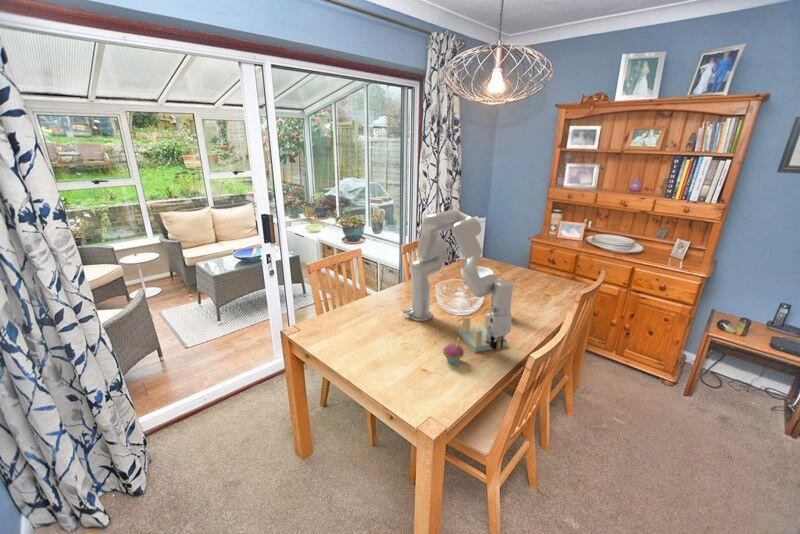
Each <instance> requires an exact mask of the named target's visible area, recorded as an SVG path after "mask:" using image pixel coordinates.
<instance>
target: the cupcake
mask: <svg viewBox="0 0 800 534" xmlns="http://www.w3.org/2000/svg"><path fill="white" fill-rule="evenodd" d="M460 337H461V336H460V335H459V336H458V338H457V340H456V344H448V345H446V346H444V348H443V350H442V354H443V355H444V357H445V358H446V361H447V362H448V364H451V365H457V364H459V362H460V359H462V358H463V356H464V355H465V354H464V353H465V352H464V349H463V347H462V346H460V345H459V341H460Z"/></svg>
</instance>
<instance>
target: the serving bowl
mask: <svg viewBox="0 0 800 534" xmlns="http://www.w3.org/2000/svg"><path fill="white" fill-rule="evenodd" d="M477 272H478V275H479V277H480V278H481V277H484V276H487V275H490V274H492V275H494V271H493V270H492V269H491V268H488V267H484V266H480V265H479V266H478V265H477ZM460 274H461V277H462V278H463V280H465V278H464V272H463V268H461V270H460Z"/></svg>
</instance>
